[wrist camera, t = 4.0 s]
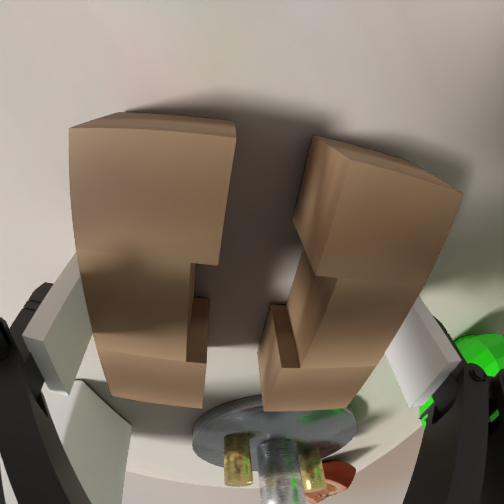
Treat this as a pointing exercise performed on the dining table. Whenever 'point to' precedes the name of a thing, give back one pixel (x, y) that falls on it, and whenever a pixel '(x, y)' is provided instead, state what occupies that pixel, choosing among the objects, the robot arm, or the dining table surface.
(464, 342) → the plastic bottle
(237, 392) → the dining table surface
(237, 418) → the post base
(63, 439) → the milk carton
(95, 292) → the flange block
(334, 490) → the fruit slice
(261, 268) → the dining table surface
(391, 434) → the dining table surface
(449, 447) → the robot arm
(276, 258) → the dining table surface
